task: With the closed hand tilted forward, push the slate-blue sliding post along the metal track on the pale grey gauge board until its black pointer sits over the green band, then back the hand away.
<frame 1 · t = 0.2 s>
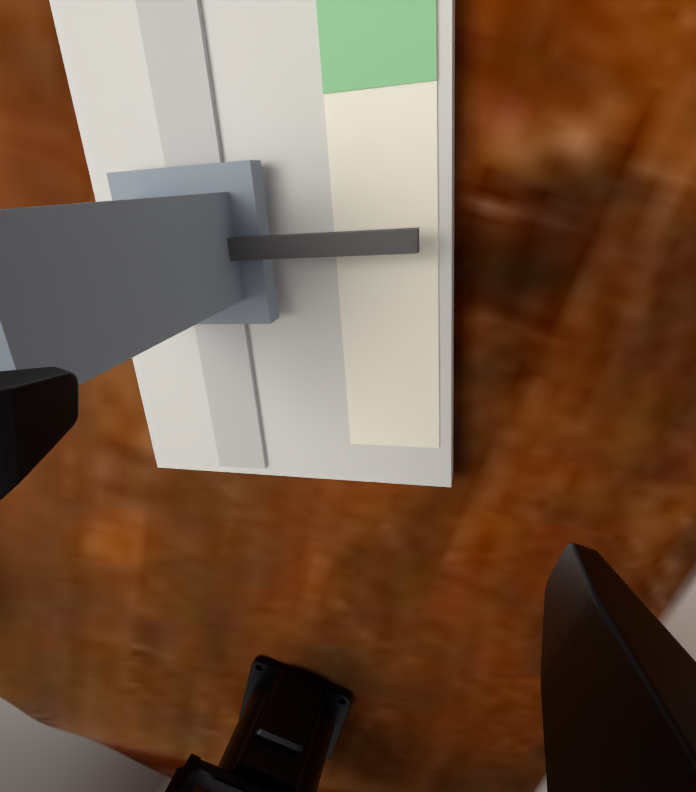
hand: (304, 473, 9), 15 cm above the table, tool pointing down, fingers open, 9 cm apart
gauge board: (275, 213, 23), on the table
tuning slider: (195, 267, 16), point 8 cm above the table, slide at 0.0 cm
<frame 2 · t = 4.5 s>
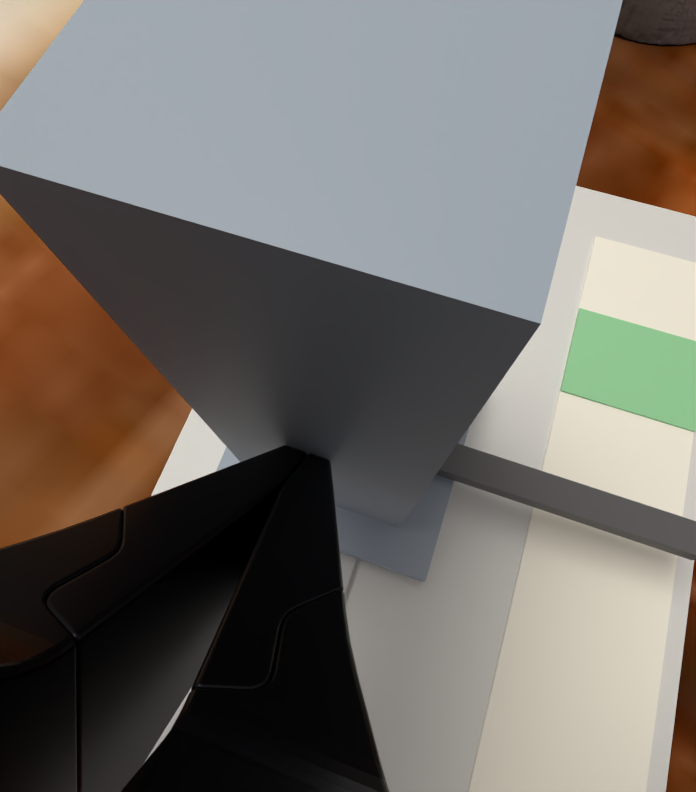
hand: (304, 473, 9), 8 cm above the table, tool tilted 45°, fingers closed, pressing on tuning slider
gauge board: (422, 491, 17), on the table
tuning slider: (509, 405, 9), point 8 cm above the table, slide at 1.3 cm, touching gripper
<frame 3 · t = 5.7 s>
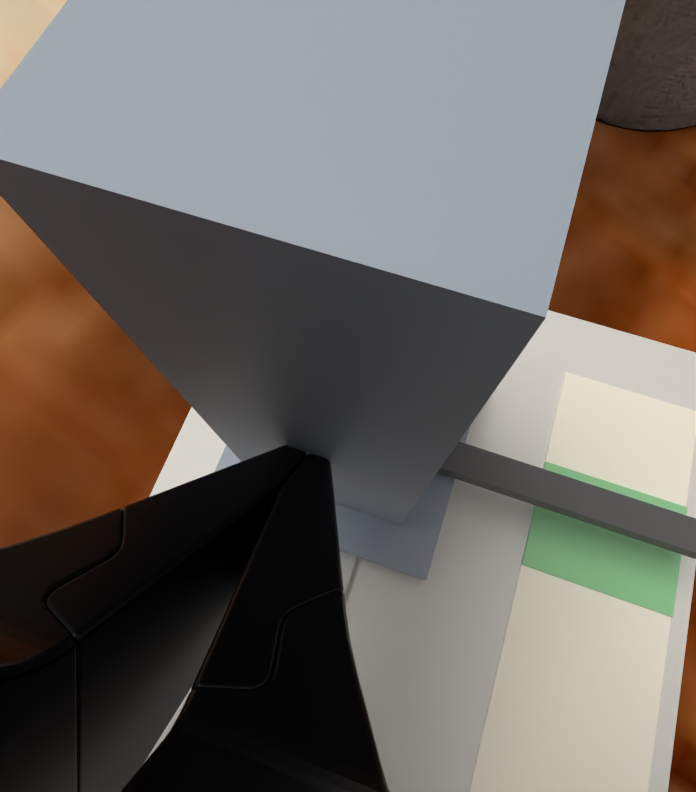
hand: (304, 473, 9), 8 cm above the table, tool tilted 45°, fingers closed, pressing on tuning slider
gauge board: (369, 669, 15), on the table
pillar candle: (636, 53, 23), on the table
tuning slider: (511, 402, 9), point 8 cm above the table, slide at 6.7 cm, touching gripper
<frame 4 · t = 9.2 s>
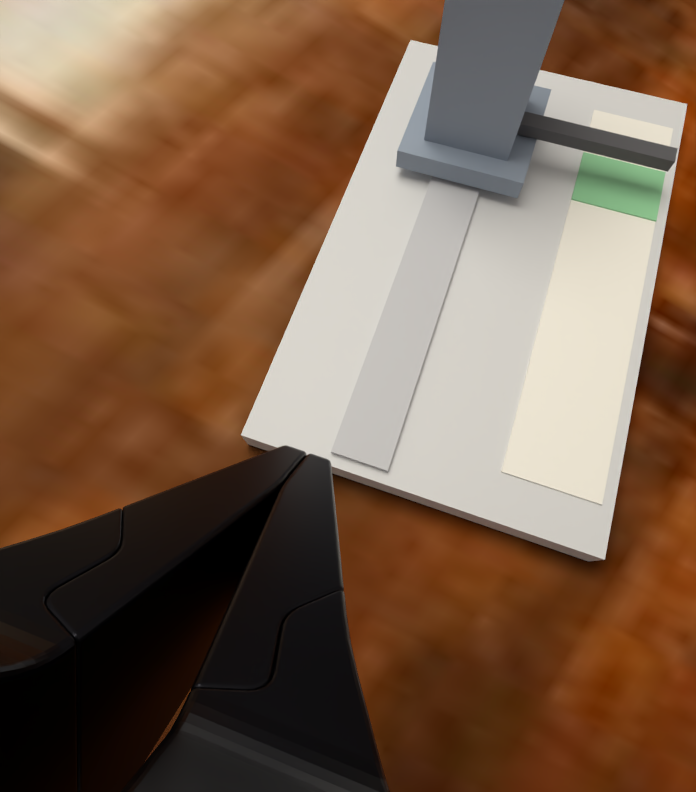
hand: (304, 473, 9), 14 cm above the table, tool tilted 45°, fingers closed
gauge board: (482, 268, 26), on the table
tuning slider: (579, 30, 20), point 8 cm above the table, slide at 6.8 cm
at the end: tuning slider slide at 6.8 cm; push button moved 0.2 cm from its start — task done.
